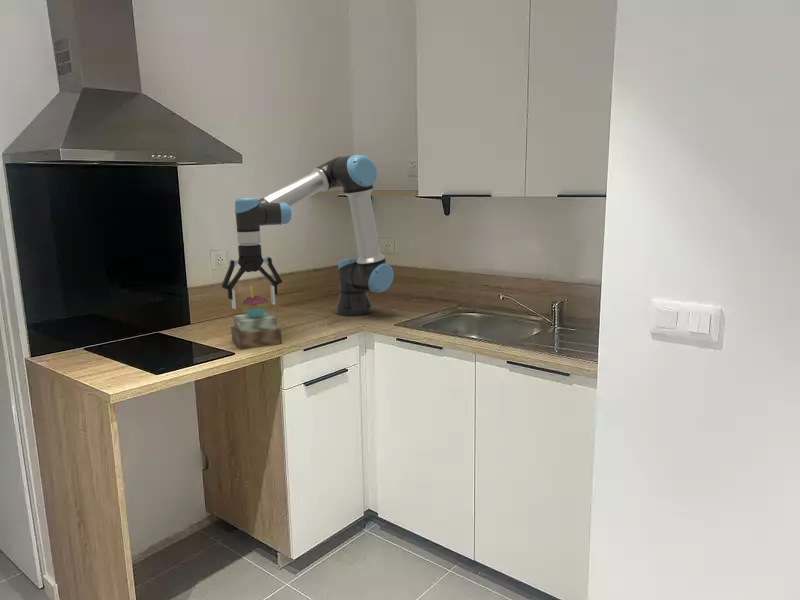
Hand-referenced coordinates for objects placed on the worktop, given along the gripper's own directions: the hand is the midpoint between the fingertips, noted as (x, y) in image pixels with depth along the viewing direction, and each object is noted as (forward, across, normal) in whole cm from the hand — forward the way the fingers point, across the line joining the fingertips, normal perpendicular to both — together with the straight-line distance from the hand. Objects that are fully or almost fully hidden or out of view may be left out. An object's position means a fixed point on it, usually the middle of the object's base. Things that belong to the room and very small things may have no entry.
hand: (254, 306), depth 198 cm
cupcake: (+4, 0, 0) cm, 4 cm away
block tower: (+13, 0, 0) cm, 13 cm away
